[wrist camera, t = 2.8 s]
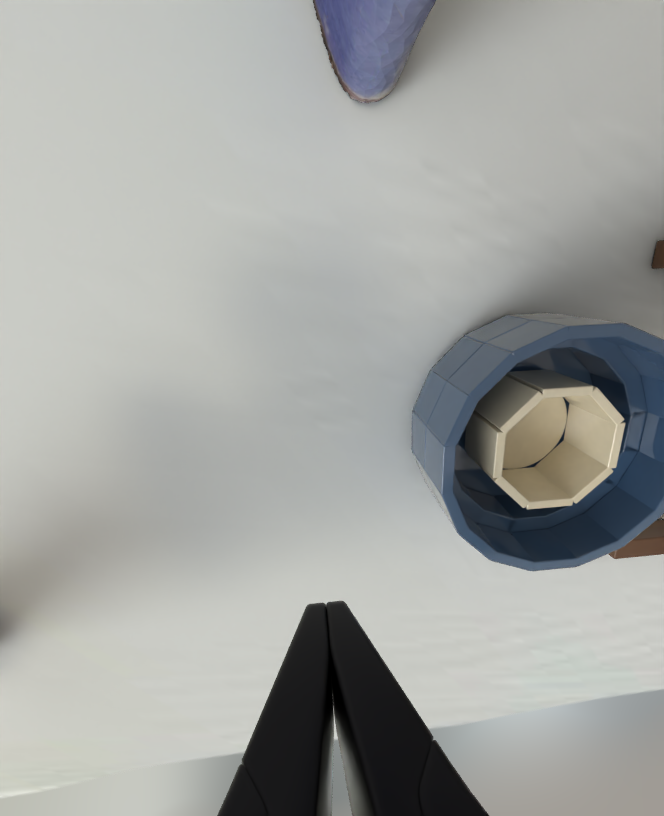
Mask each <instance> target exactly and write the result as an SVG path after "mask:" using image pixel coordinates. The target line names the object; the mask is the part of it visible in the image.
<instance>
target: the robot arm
mask: <svg viewBox="0 0 664 816" xmlns="http://www.w3.org/2000/svg"><path fill="white" fill-rule="evenodd" d="M332 694H333V696H332ZM333 706H334V714H333ZM334 716H335V723H336V729H337V735H338V740H339V746H340V751H341V757H342V761H343V768H344V773H345V778H346V784H347V789H348V795H349V800H350V806H351V811H352V816H489V815H488V813H487V812H486V811H485V810H484V808H483V807H482V806H481V804H480V803H479V802H478V800H477V799H476V798H475V796H474V795H473V794H472V793H471V792H470V790H469V788H468V787H467V786H466V784H465V783H464V781H463V780H462V778H461V777H460V775H459V774H458V773H457V771H456V770H455V768H454V767H453V765H452V764H451V763H450V761H449V760H448V758H447V756H446V755H445V753H444V752H443V750H442V749H441V747H440V746H439V744H438V743H437V741H436V740H433V736H432V734H431V733H430V731H429V729H428V728H427V726H426V725H425V723H424V722H423V720H422V719H421V717H420V716H419V714H418V713H417V711H416V710H415V708H414V707H413V705H412V704H411V702H410V700H409V699H408V697H407V696H406V694H405V693H404V691H403V690H402V688H401V687H400V685H399V684H398V682H397V681H396V679H395V678H394V676H393V675H392V673H391V672H390V670H389V668H388V667H387V665H386V664H385V662H384V661H383V659H382V658H381V656H380V655H379V653H378V652H377V650H376V649H375V647H374V646H373V644H372V643H371V641H370V640H369V638H368V636H367V635H366V633H365V632H364V630H363V629H362V627H361V626H360V624H359V623H358V621H357V620H356V618H355V617H354V615H353V614H352V612H351V611H350V609H349V608H348V606H347V604H346V603H345V602H344V601H335V602H328V603H327V604H326V605H325V604H324V603H315V604H309V605H307V607H306V609H305V611H304V613H303V616H302V618H301V621H300V623H299V625H298V628H297V630H296V632H295V635H294V637H293V640H292V642H291V644H290V647H289V649H288V651H287V654H286V656H285V659H284V661H283V663H282V666H281V668H280V670H279V673H278V675H277V678H276V680H275V682H274V685H273V687H272V689H271V692H270V694H269V697H268V699H267V701H266V704H265V706H264V708H263V711H262V713H261V716H260V718H259V720H258V723H257V725H256V727H255V730H254V732H253V735H252V737H251V739H250V742H249V744H248V746H247V749H246V751H245V754H244V756H243V758H242V764H241V765H240V766H239V767H238V770H237V772H236V775H235V777H234V779H233V782H232V784H231V786H230V789H229V791H228V793H227V795H226V798H225V800H224V802H223V804H222V806H221V809H220V811H219V813H218V815H217V816H332V781H333V779H332V778H333V741H334Z"/></svg>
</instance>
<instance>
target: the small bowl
mask: <svg viewBox="0 0 664 816" xmlns="http://www.w3.org/2000/svg"><path fill="white" fill-rule="evenodd" d="M563 397H564V398H565V399H566V400H567V401H568V402H569V409H568V415H567V409H566V404H565V401H564V399H563ZM622 421H624V418H623V417H622V415H621V414H620V413H619V412H618V411H617V410H616V408H615V407H614V406H613V405H612V404H611V403H610V401H609V400H608V399H607V398H606V397H605V396H604V395H603V393H602V392H601V391H600V390H599V389H598V388H597V387H595V386H592V385H589V384H587V383H584V382H581V381H578V380H576V379H573V378H570V377H567V376H565V375H562V374H559V373H556V372H554V371H551V370H548V369H546V370H530V371H514V372H508V373H507V374H506V375H505V376H504V377H503V378H502V379H501V380H500V381H499V382H498V383H497V384H496V385H495V386H494V387H493V388H492V389H491V390H490V391H489V392H488V393H487V394H486V395H485V396H484V397H482V398H481V399H480V400H479V401H478V403H477V405H476V407H475V409H474V411H473V413H472V415H471V418H470V420H469V422H468V424H467V426H466V435H465V450H466V453H467V454H468V455H469V456H470V457H471V458H472V459H473V460H474V461H475V462H476V463H477V464H478V466H479V467H480V468H481V469H482V470H483V471H484V472H485V473H486V474H487V475H488V476H489V477H490V478H491V479H492V480H493V481H494V482H495V483H496V484H497V485H498V486H499V487H500V488H502V489H503V490H504V491H505V492H506V493H507V494H508V495H509V496H510V497H511V498H512V499H514V500H515V501H516V502H517V503H518V504H519V505H520V506H521V507H522V508H526V509H539V508H550V507H561V506H572V505H573V502H574V503H578V502H579V501H580V500H581V499H582V498H584V497H585V496H586V495H587V494H588V493H589V492H591V491H592V490H593V489H594V488H595V487H596V486H598V485H599V484H600V483H601V482H602V481H603V480H605V479H606V478H607V477H608V476H609V475H610V474H612V473H613V472H614V471H613V470H612V469H611V468H616V466H617V462H618V457H619V452H620V447H621V443H622V438H623V433H624V428H625V423H624V422H622ZM565 426H566V428H565ZM564 429H565V434H564V440H563V441H562V442H561V443H560V444H559V445H558V446H557V447H555V446H556V445H557V443H558V442H559V440H560V438H561V436H562V434H563V432H564ZM554 447H555V448H554ZM553 448H554V449H553ZM547 454H548V455H547ZM546 455H547V456H546ZM542 458H543V459H542ZM541 459H542V460H541ZM539 460H541V461H540V462H539V463H538V464H537V465H535V466H534V467H530V468H522V467H526V466H529V465H532V464H534V463H536V462H538V461H539ZM503 468H505V470H503ZM517 468H518V469H517Z"/></svg>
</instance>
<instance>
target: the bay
mask: <svg viewBox="0 0 664 816" xmlns="http://www.w3.org/2000/svg"><path fill="white" fill-rule="evenodd" d="M652 268H653V269H659V268H664V240H660V241H657V244H656V249H655V254H654V259H653V264H652ZM659 554H664V520H656V521H655V522H654V523H652V524H651V525H650V526H649V527H647V528H646V529H645V530H644V531H642V532H641V533H640V534H639V535H638V536H636V537H635V538H634V539H633V540H631V541H630V542H629V543H628V544H626V545H625V546H624V547H622V548H620V549H618V550H616V551H613V552H611V553H609V555H610V556H611V557H613V558H614V559H619V558H629V557H639V556H649V555H659Z"/></svg>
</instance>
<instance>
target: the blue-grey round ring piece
mask: <svg viewBox="0 0 664 816" xmlns="http://www.w3.org/2000/svg"><path fill="white" fill-rule="evenodd" d="M546 369H548V370H551V371H554V372H556V373H559V374H562V375H565V376H567V377H570V378H573V379H576V380H578V381H581V382H584V383H587V384H589V385H592V386H595V387H597V388H598V389H599V390H600V391H601V392H602V393H603V395H604V396H605V397H606V398H607V399H608V400H609V401H610V403H611V404H612V405H613V406H614V407H615V408H616V410H617V411H618V412H619V413H620V414H621V415H622V417H623V418H624V421H622V422H624V423H625V428H624V433H623V438H622V443H621V447H620V452H619V457H618V462H617V466H616V468H611V469H612V470H613V471H614V472H613V473H612V474H610V475H609V476H608V477H607V478H606V479H605V480H603V481H602V482H601V483H600V484H599V485H598V486H596V487H595V488H594V489H593V490H592V491H591V492H589V493H588V494H587V495H586V496H585V497H584V498H582V499H581V500H580V501H579V502H578V503H574V502H573V505H572V506H561V507H550V508H539V509H526V508H522V507H521V506H520V505H519V504H518V503H517V502H516V501H515V500H514V499H512V498H511V497H510V496H509V495H508V494H507V493H506V492H505V491H504V490H503V489H502V488H500V487H499V486H498V485H497V484H496V483H495V482H494V481H493V480H492V479H491V478H490V477H489V476H488V475H487V474H486V473H485V472H484V471H483V470H482V469H481V468H480V467H479V466H478V464H477V463H476V462H475V461H474V460H473V459H472V458H471V457H470V456H469V455H468V454H467V453H466V450H465V435H466V426H467V424H468V422H469V420H470V418H471V415H472V413H473V411H474V409H475V407H476V405H477V403H478V401H479V400H480V399H481V398H482V397H484V396H485V395H486V394H487V393H488V392H489V391H490V390H491V389H492V388H493V387H494V386H495V385H496V384H497V383H498V382H499V381H500V380H501V379H502V378H503V377H504V376H505V375H506V374H507V373H508V372H514V371H530V370H546ZM563 399H564V401H565V404H566V409H567V415H568V409H569V402H568V401H567V400H566V399H565V398H564V397H563ZM565 428H566V426H565ZM564 434H565V429H564V432H563V434H562V436H561V438H560V440H559V442H558V443H557V445H556V446H555V447H557V446H558V445H559V444H560V443H561V442H562V441H563V440H564ZM555 447H554V448H555ZM554 448H553V449H554ZM412 452H413V455H414V457H415V459H416V462H417V464H418V466H419V468H420V471H421V473H422V475H423V478H424V480H425V482H426V484H427V485H428V487H429V489H430V490H431V492H432V493H433V495H434V497H435V498H436V500H437V501H438V503H439V504H440V506H441V508H442V509H443V511H444V513H445V514H446V516H447V517H448V519H449V521H450V522H451V524H452V525H453V527H454V528H455V530H456V532H457V533H458V534H459V535H460V536H461V537H462V538H463V539H465V540H466V541H467V542H468V543H469V544H471V545H472V546H473V547H474V548H475V549H477V550H478V551H479V552H480V553H482V554H483V555H484V556H485V557H486V558H488V559H489V560H491V561H494V562H498V563H502V564H506V565H509V566H513V567H517V568H521V569H525V570H528V571H540V570H550V569H560V568H570V567H577V566H580V565H583V564H585V563H587V562H590V561H592V560H595V559H597V558H599V557H602V556H604V555H606V554H609V553H611V552H613V551H616V550H618V549H620V548H622V547H624V546H625V545H626V544H628V543H629V542H630V541H631V540H633V539H634V538H635V537H636V536H638V535H639V534H640V533H641V532H642V531H644V530H645V529H646V528H647V527H649V526H650V525H651V524H652V523H654V522H655V521H656V520H657V519H659V518H660V517H661V516H662V515H663V514H664V339H661V338H659V337H657V336H654V335H652V334H649V333H647V332H645V331H642V330H640V329H638V328H635V327H633V326H631V325H628V324H626V323H621V322H613V321H606V320H599V319H591V318H584V317H577V316H570V315H562V314H555V313H537V314H519V315H507V316H504V317H502V318H500V319H498V320H495V321H493V322H491V323H489V324H487V325H485V326H483V327H481V328H479V329H476V330H474V331H472V332H470V333H468V334H466V335H464V337H462V338H461V339H460V340H459V341H458V342H457V343H456V344H455V345H454V346H453V347H452V348H451V349H450V350H449V351H448V352H447V353H446V354H445V355H444V357H443V358H442V359H441V360H440V361H439V362H438V363H437V364H436V365H435V366H434V367H433V368H432V370H430V372H429V374H428V376H427V379H426V381H425V383H424V385H423V388H422V390H421V392H420V394H419V397H418V399H417V401H416V404H415V406H414V408H413V411H412ZM547 455H548V454H547ZM547 455H546V456H547ZM542 459H543V458H542ZM542 459H541V460H542ZM541 460H539V461H538V462H536V463H534V464H532V465H529V466H526V467H522V468H530V467H534V466H535V465H537V464H538V463H539V462H540V461H541ZM517 469H518V468H517ZM503 470H505V468H503Z"/></svg>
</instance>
